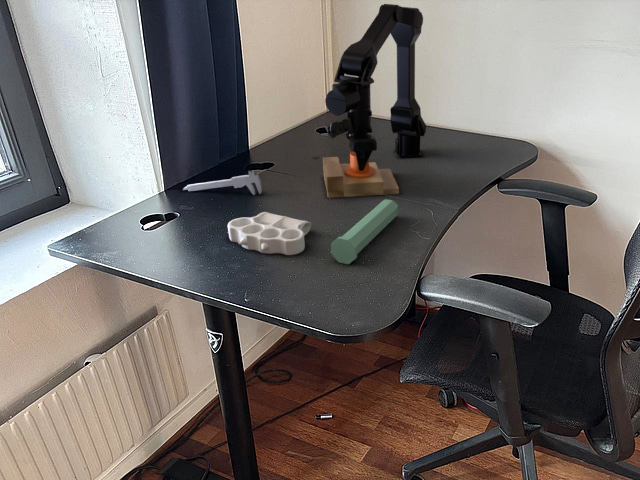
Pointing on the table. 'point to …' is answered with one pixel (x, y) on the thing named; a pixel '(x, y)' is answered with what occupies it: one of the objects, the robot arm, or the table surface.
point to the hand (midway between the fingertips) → (360, 166)
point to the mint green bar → (363, 232)
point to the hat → (354, 169)
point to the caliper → (231, 183)
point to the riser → (356, 181)
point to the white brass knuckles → (269, 233)
